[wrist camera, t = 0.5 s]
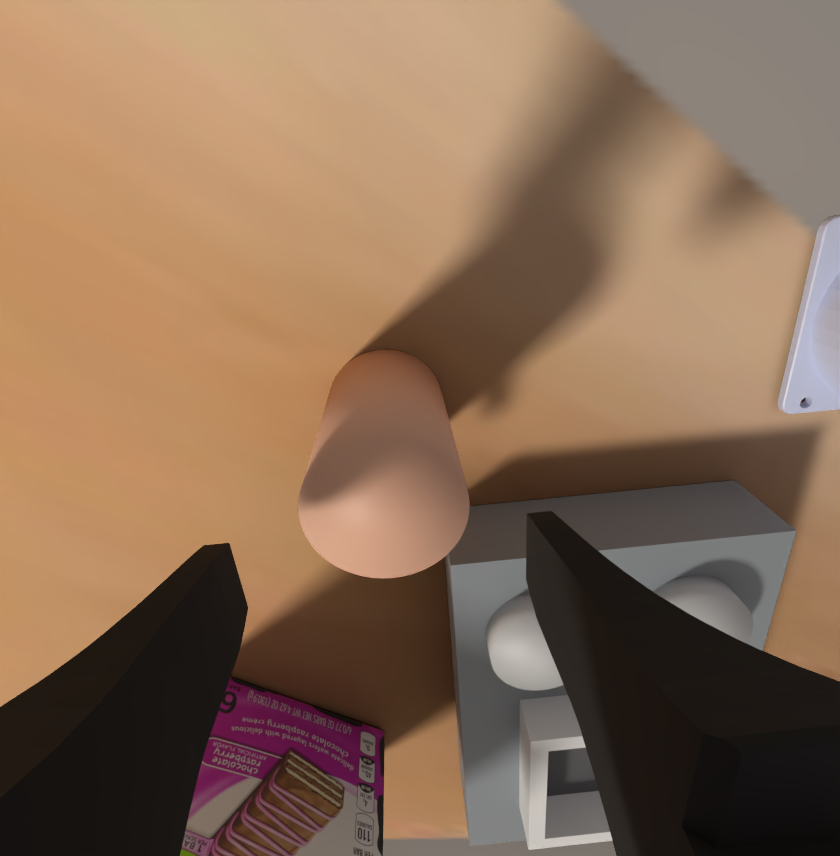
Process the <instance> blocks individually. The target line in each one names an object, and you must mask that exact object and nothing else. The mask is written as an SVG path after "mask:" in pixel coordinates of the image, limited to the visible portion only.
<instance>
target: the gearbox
mask: <svg viewBox="0 0 840 856" xmlns="http://www.w3.org/2000/svg"><path fill="white" fill-rule="evenodd" d="M545 511H552V512H554V513H555V514H556V515H557V516H558V517H559V518H561V519H562V520H563V521H564V522H565V523H566V524H567V525H569V526H570V527H571V528H572V529H573V530H574V531H575V532H576V533H578V534H579V535H580V536H581V537H582V538H583V539H585V540H586V541H587V542H588V543H589V544H590V545H592V546H593V547H594V548H595V549H596V550H598V551H599V552H600V553H601V554H603V555H604V556H605V557H606V558H607V559H609V560H610V561H611V562H612V563H614V564H615V565H616V566H618V567H619V568H620V569H622V570H623V571H624V572H626V573H627V574H629V575H630V576H631V577H633V578H634V579H636V580H637V581H638V582H640V583H641V584H643V585H644V586H645V587H647V588H648V589H650V590H651V591H653V592H654V593H656V594H657V595H659V596H661V597H662V598H664V599H666V600H667V601H669V602H670V603H672V604H674V605H675V606H677V607H679V608H680V609H682V610H683V611H685V612H687V613H689V614H690V615H692V616H694V617H696V618H698V619H699V620H701V621H703V622H705V623H707V624H709V625H711V626H713V627H715V628H716V629H718V630H720V631H722V632H724V633H726V634H728V635H730V636H732V637H734V638H736V639H738V640H740V641H742V642H744V643H747V644H749V645H751V646H753V647H755V648H757V649H759V650H762V651H763V647H764V644H765V640H766V637H767V633H768V630H769V626H770V622H771V619H772V615H773V612H774V608H775V605H776V601H777V598H778V594H779V591H780V587H781V583H782V580H783V576H784V573H785V569H786V566H787V562H788V559H789V555H790V552H791V548H792V545H793V541H794V537H795V534H796V530H795V529H794V528H792V527H791V526H790V525H789V524H788V523H786V522H785V521H784V520H783V519H782V518H780V517H779V516H778V515H777V514H776V513H774V512H773V511H772V510H771V509H770V508H768V507H767V506H766V505H765V504H763V503H762V502H761V501H760V500H759V499H757V498H756V497H755V496H754V495H753V494H751V493H750V492H749V491H748V490H747V489H745V488H744V487H743V486H742V485H741V484H739V483H738V482H737V481H736V480H731V481H721V482H710V483H700V484H690V485H680V486H670V487H660V488H650V489H639V490H629V491H619V492H609V493H599V494H589V495H579V496H568V497H558V498H548V499H538V500H528V501H518V502H508V503H497V504H487V505H477V506H469V517H468V522H467V525H466V528H465V530H464V532H463V534H462V536H461V538H460V540H459V541H458V543H457V544H456V545H455V547H454V548H453V549H452V550H451V551H450V552H449V553H448V554H447V555H446V556H445V567H446V580H447V594H448V607H449V621H450V635H451V648H452V662H453V675H454V689H455V702H456V716H457V729H458V743H459V756H460V770H461V779H462V787H463V795H464V803H465V811H466V820H467V828H468V836H469V842H470V843H469V844H470V846H477V845H486V844H495V843H504V842H514V841H523V840H527V844H528V849H529V850H531V849H540V848H548V847H558V846H567V845H576V844H585V843H594V842H603V841H613V840H612V837H611V833H610V829H609V826H608V822H607V818H606V815H605V811H604V808H603V804H602V801H601V797H600V794H599V790H598V787H597V783H596V780H595V777H594V773H593V770H592V766H591V763H590V760H589V756H588V753H587V750H586V746H585V743H584V740H583V737H582V733H581V730H580V727H579V723H578V721H577V718H576V715H575V712H574V710H573V707H572V704H571V702H570V699H569V697H568V694H567V692H566V689H565V687H564V685H563V682H562V680H561V677H560V675H559V672H558V670H557V667H556V665H555V663H554V660H553V658H552V655H551V653H550V650H549V648H548V645H547V643H546V640H545V638H544V636H543V633H542V631H541V628H540V626H539V623H538V620H537V618H536V615H535V611H534V607H533V604H532V600H531V597H530V593H529V589H528V585H527V581H526V532H527V513H535V512H545Z"/></svg>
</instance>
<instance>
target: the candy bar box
mask: <svg viewBox="0 0 840 856" xmlns="http://www.w3.org/2000/svg"><path fill="white" fill-rule="evenodd" d="M383 800H384V731H382V730H380V729H377V728H374V727H371V726H368V725H365V724H362V723H359V722H356V721H353V720H351V719H348V718H345V717H342V716H339V715H336V714H333V713H331V712H328V711H325V710H322V709H319V708H316V707H313V706H311V705H308V704H305V703H302V702H299V701H296V700H293V699H291V698H288V697H285V696H282V695H279V694H276V693H273V692H270V691H268V690H265V689H262V688H260V687H257V686H254V685H251V684H248V683H245V682H243V681H240V680H237V679H234V678H231V677H230V680H229V682H228V685H227V688H226V691H225V694H224V697H223V700H222V703H221V706H220V708H219V711H218V714H217V717H216V720H215V723H214V726H213V729H212V731H211V734H210V737H209V740H208V743H207V746H206V750H205V753H204V756H203V760H202V763H201V767H200V771H199V775H198V779H197V783H196V787H195V792H194V796H193V800H192V804H191V808H190V812H189V817H188V821H187V826H186V830H185V835H184V840H183V844H182V849H181V853H180V856H383V854H382V853H383Z"/></svg>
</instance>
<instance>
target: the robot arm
mask: <svg viewBox="0 0 840 856" xmlns="http://www.w3.org/2000/svg"><path fill="white" fill-rule="evenodd" d="M804 398H806V399H805V401H804V402H803V403H802V404H800V403H801V401H802V400H803V399H804ZM778 407H779V409H780V410H782V411H783V412H785V413H787V414H796V413H807V412H817V411H828V410H838V409H840V215H835V216H831V217H828V218H827V219H825V220H824V221H823V222H822V223H821V225H820V227H819V229H818V232H817V236H816V240H815V245H814V249H813V253H812V257H811V262H810V266H809V270H808V275H807V279H806V283H805V287H804V292H803V296H802V300H801V305H800V309H799V313H798V317H797V322H796V326H795V330H794V335H793V339H792V343H791V347H790V352H789V356H788V360H787V365H786V369H785V373H784V377H783V382H782V386H781V390H780V395H779V399H778ZM526 581H527V585H528V589H529V593H530V597H531V600H532V604H533V607H534V611H535V615H536V618H537V620H538V623H539V626H540V628H541V631H542V633H543V636H544V638H545V640H546V643H547V645H548V648H549V650H550V653H551V655H552V658H553V660H554V663H555V665H556V667H557V670H558V672H559V675H560V677H561V680H562V682H563V685H564V687H565V689H566V692H567V694H568V697H569V699H570V702H571V704H572V707H573V710H574V712H575V715H576V718H577V721H578V723H579V727H580V730H581V733H582V737H583V740H584V743H585V746H586V750H587V753H588V756H589V760H590V763H591V766H592V770H593V773H594V777H595V780H596V783H597V787H598V790H599V794H600V797H601V801H602V804H603V808H604V811H605V815H606V818H607V822H608V826H609V829H610V833H611V837H612V840H613V844H614V848H615V851H616V855H617V856H840V682H839V681H836V680H834V679H831V678H828V677H826V676H823V675H820V674H818V673H815V672H812V671H810V670H807V669H804V668H801V667H799V666H797V665H794V664H792V663H789V662H787V661H785V660H782V659H780V658H778V657H776V656H773V655H771V654H769V653H766V652H764V651H762V650H759V649H757V648H755V647H753V646H751V645H749V644H747V643H744V642H742V641H740V640H738V639H736V638H734V637H732V636H730V635H728V634H726V633H724V632H722V631H720V630H718V629H716V628H715V627H713V626H711V625H709V624H707V623H705V622H703V621H701V620H699V619H698V618H696V617H694V616H692V615H690V614H689V613H687V612H685V611H683V610H682V609H680V608H679V607H677V606H675V605H674V604H672V603H670V602H669V601H667V600H666V599H664V598H662V597H661V596H659V595H657V594H656V593H654V592H653V591H651V590H650V589H648V588H647V587H645V586H644V585H643V584H641V583H640V582H638V581H637V580H636V579H634V578H633V577H631V576H630V575H629V574H627V573H626V572H624V571H623V570H622V569H620V568H619V567H618V566H616V565H615V564H614V563H612V562H611V561H610V560H609V559H607V558H606V557H605V556H604V555H603V554H601V553H600V552H599V551H598V550H596V549H595V548H594V547H593V546H592V545H590V544H589V543H588V542H587V541H586V540H585V539H583V538H582V537H581V536H580V535H579V534H578V533H576V532H575V531H574V530H573V529H572V528H571V527H570V526H569V525H567V524H566V523H565V522H564V521H563V520H562V519H561V518H559V517H558V516H557V515H556V514H555V513H554V512H552V511H545V512H535V513H527V532H526ZM247 611H248V606H247V602H246V599H245V595H244V592H243V589H242V585H241V582H240V578H239V575H238V572H237V568H236V565H235V561H234V558H233V554H232V551H231V548H230V544H229V543H224V544H214V545H204V546H203V547H201V548H200V549H199V550H198V551H197V552H195V553H194V554H193V555H192V556H191V557H190V558H189V559H188V560H186V561H185V562H184V563H183V564H182V565H181V566H180V567H179V568H178V569H177V570H176V571H175V572H173V573H172V574H171V575H170V576H169V577H168V578H167V579H166V580H165V581H164V582H163V583H162V584H160V585H159V586H158V587H157V588H156V589H155V590H154V591H153V592H152V593H151V594H149V595H148V596H147V597H146V598H145V599H144V600H143V601H142V602H141V603H139V604H138V605H137V606H136V607H135V608H134V609H133V610H131V611H130V612H129V613H128V614H127V615H125V616H124V617H123V618H122V619H121V620H119V621H118V622H117V623H116V624H115V625H114V626H112V627H111V628H110V629H109V630H108V631H106V632H105V633H104V634H103V635H102V636H100V637H99V638H98V639H97V640H95V641H94V642H93V643H92V644H90V645H89V646H88V647H87V648H85V649H84V650H83V651H81V652H80V653H79V654H77V655H76V656H75V657H73V658H72V659H71V660H69V661H68V662H66V663H65V664H64V665H62V666H61V667H60V668H58V669H57V670H55V671H54V672H53V673H51V674H50V675H48V676H47V677H45V678H44V679H43V680H41V681H40V682H38V683H37V684H35V685H33V686H32V687H30V688H29V689H27V690H26V691H24V692H23V693H21V694H20V695H18V696H17V697H15V698H13V699H12V700H10V701H9V702H7V703H6V704H4V705H3V706H1V707H0V856H180V853H181V849H182V844H183V840H184V835H185V830H186V826H187V821H188V817H189V812H190V808H191V804H192V800H193V796H194V792H195V787H196V783H197V779H198V775H199V771H200V767H201V763H202V760H203V756H204V753H205V750H206V746H207V743H208V740H209V737H210V734H211V731H212V729H213V726H214V723H215V720H216V717H217V714H218V711H219V708H220V706H221V703H222V700H223V697H224V694H225V691H226V688H227V685H228V682H229V680H230V677H231V674H232V671H233V668H234V665H235V662H236V659H237V656H238V653H239V650H240V646H241V641H242V637H243V632H244V627H245V622H246V616H247Z"/></svg>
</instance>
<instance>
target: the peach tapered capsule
mask: <svg viewBox="0 0 840 856" xmlns="http://www.w3.org/2000/svg"><path fill="white" fill-rule="evenodd" d="M469 506H470V502H469V494H468V490H467V486H466V483H465V479H464V475H463V471H462V468H461V464H460V460H459V456H458V452H457V449H456V445H455V441H454V437H453V434H452V430H451V426H450V422H449V418H448V415H447V411H446V407H445V403H444V400H443V396H442V392H441V388H440V385H439V383H438V381H437V379H436V377H435V375H434V374H433V372H432V371H431V370H430V369H429V368H428V367H427V366H426V365H425V364H424V363H423V362H422V361H420V360H419V359H417V358H416V357H414V356H412V355H410V354H407V353H404V352H401V351H397V350H388V349H386V350H375V351H370V352H367V353H364V354H361V355H359V356H357V357H355V358H354V359H352V360H351V361H349V362H348V363H347V364H346V365H345V366H344V367H343V368H342V369H341V370H340V371H339V373H338V374H337V376H336V377H335V379H334V381H333V384H332V387H331V390H330V393H329V396H328V400H327V403H326V406H325V410H324V413H323V416H322V420H321V423H320V426H319V430H318V433H317V437H316V440H315V443H314V447H313V450H312V453H311V457H310V460H309V463H308V467H307V470H306V473H305V477H304V480H303V484H302V487H301V490H300V495H299V501H298V512H299V520H300V523H301V526H302V529H303V532H304V534H305V536H306V538H307V539H308V541H309V542H310V544H311V545H312V547H313V548H314V549H315V550H316V551H317V552H318V553H319V554H320V555H321V556H322V557H323V558H324V559H326V560H327V561H328V562H330V563H331V564H333V565H334V566H336V567H338V568H340V569H342V570H344V571H347V572H350V573H352V574H356V575H360V576H364V577H370V578H396V577H403V576H407V575H411V574H414V573H417V572H420V571H422V570H425V569H426V568H428V567H430V566H432V565H434V564H435V563H437V562H438V561H440V560H441V559H442V558H444V557H445V556H446V555H447V554H448V553H449V552H450V551H451V550H452V549H453V548H454V547H455V545H456V544H457V543H458V541H459V540H460V538H461V536H462V534H463V532H464V530H465V528H466V525H467V522H468V517H469Z"/></svg>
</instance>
